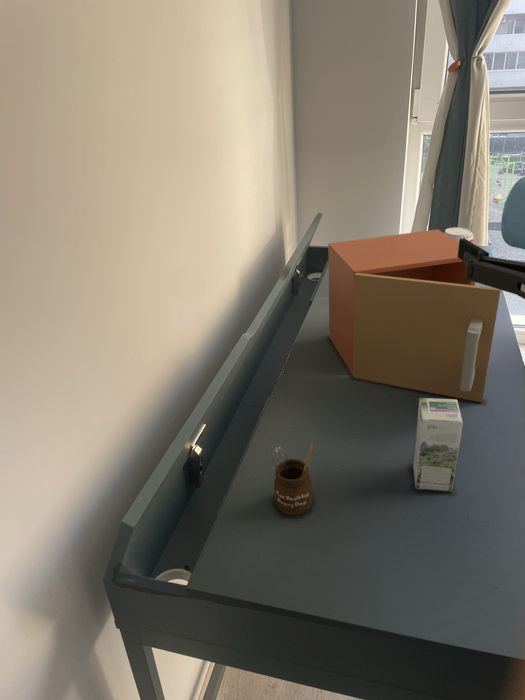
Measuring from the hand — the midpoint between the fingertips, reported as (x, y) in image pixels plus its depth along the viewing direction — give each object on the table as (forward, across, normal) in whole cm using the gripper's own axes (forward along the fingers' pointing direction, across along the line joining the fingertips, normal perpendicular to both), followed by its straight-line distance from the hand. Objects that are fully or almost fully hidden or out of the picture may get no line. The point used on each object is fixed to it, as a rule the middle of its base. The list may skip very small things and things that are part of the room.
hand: (504, 241), depth 76 cm
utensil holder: (-8, -35, -36) cm, 51 cm away
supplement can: (+65, +29, -37) cm, 80 cm away
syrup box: (-8, -12, -36) cm, 39 cm away
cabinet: (+34, -1, -36) cm, 50 cm away
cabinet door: (+14, -6, -36) cm, 39 cm away
